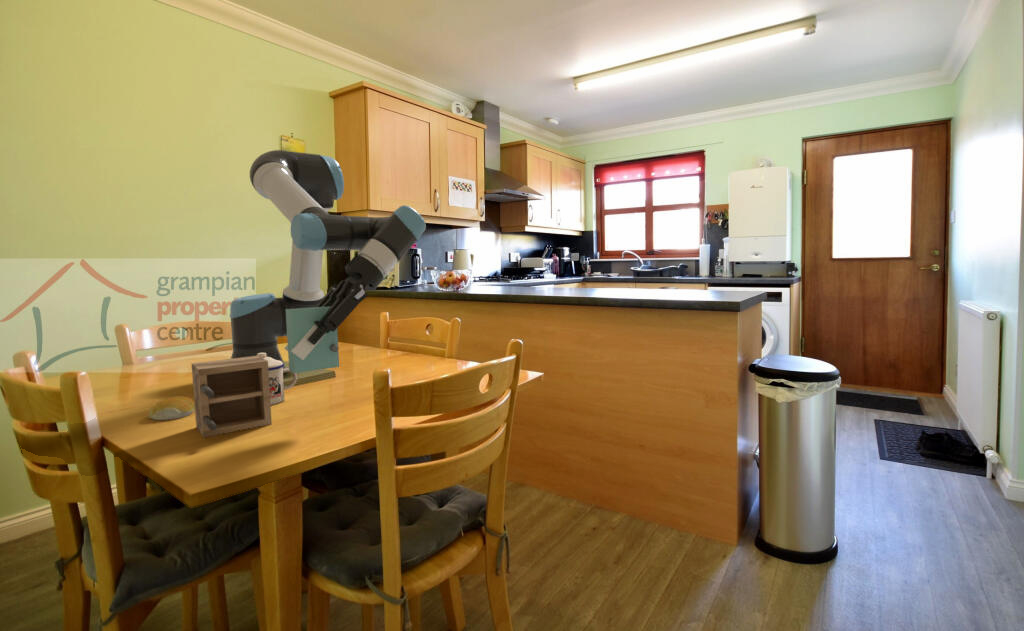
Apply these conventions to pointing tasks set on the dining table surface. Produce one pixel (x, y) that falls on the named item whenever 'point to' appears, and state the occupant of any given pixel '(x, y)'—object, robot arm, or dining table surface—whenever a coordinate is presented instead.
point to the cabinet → (231, 395)
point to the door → (322, 353)
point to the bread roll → (172, 408)
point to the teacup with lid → (277, 379)
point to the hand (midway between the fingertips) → (293, 354)
